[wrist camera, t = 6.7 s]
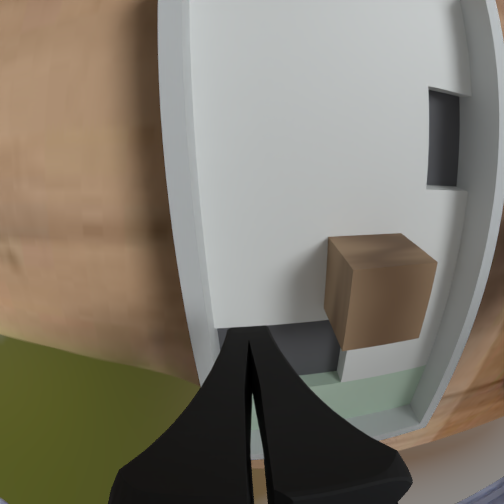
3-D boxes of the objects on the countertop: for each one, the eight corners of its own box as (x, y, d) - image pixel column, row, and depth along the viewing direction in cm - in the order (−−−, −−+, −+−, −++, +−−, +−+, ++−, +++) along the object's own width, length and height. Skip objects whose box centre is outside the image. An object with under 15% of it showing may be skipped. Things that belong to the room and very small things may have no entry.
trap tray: (457, 7, 12) (493, -5, 8) (409, 397, 25) (425, 427, 21) (175, -26, 11) (160, -58, 8) (220, 424, 24) (219, 461, 21)
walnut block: (401, 233, 17) (437, 262, 13) (390, 300, 18) (418, 338, 15) (328, 236, 16) (353, 269, 13) (323, 308, 18) (342, 351, 15)
